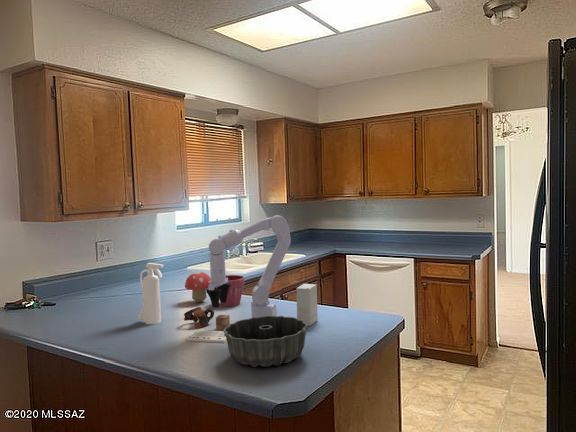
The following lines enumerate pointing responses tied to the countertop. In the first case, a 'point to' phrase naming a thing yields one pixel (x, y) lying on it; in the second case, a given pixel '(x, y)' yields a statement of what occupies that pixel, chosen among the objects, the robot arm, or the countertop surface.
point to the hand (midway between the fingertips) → (219, 304)
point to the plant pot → (234, 290)
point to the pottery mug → (199, 316)
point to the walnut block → (222, 322)
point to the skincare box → (307, 303)
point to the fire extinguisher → (151, 294)
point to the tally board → (207, 336)
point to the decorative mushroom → (198, 285)
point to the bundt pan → (266, 340)
